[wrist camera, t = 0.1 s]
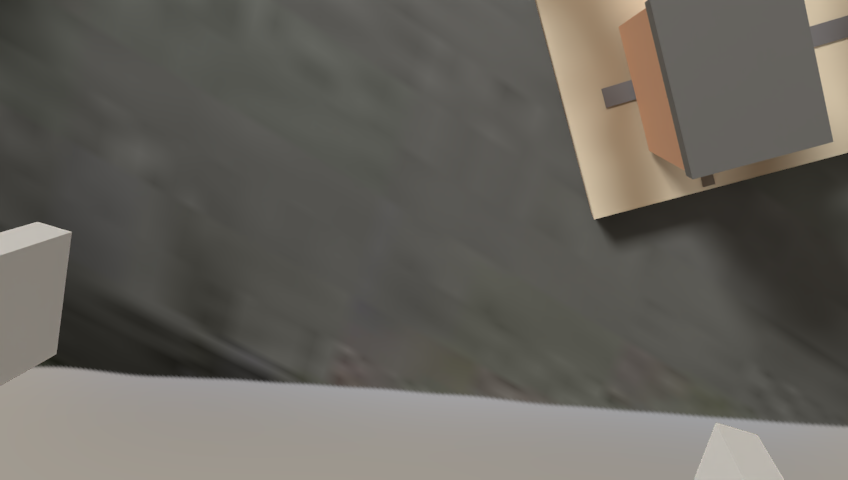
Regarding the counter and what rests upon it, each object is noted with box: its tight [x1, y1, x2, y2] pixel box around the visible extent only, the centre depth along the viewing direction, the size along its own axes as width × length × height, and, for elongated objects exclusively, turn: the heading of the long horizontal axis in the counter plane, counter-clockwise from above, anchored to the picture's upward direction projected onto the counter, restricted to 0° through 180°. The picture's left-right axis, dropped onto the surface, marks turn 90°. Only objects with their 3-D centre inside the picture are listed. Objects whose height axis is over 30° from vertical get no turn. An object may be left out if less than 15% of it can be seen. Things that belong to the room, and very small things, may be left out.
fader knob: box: [619, 0, 833, 179], centre depth 31 cm, size 5×7×10 cm
